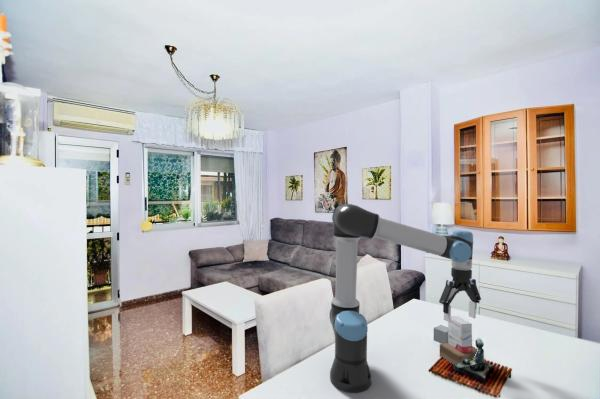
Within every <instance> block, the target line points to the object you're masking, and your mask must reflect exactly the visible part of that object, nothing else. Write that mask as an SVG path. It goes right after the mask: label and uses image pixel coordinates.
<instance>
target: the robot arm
mask: <svg viewBox="0 0 600 399" xmlns="http://www.w3.org/2000/svg"><path fill="white" fill-rule="evenodd" d="M331 220H332V223H333V228H332V229H333V231H332V232H333V238H334V239H335V240H336V257H335V258H336V259H335V289H334V290H335V292H334V297H333V298H332V299H331V303H330V304H331V305H330V309H329V321H330V324H331V327H332V331H333V335H334V345H335V346H334V358H333V360H332V361H333V362H332V364H331V365H332V366H331V368H330V370H329V380H330V382H331V384H332V385H333V386H334V387H336V388H337V389H339V390H341V391H343V392H347V393H361V392H364V391H366V390H368V389H369V388H370V387H371V386H372V373H371V370H370V366H369V363H368V328H369V327H368V321H367V319H366V317H365V316H364V315H363V314H361V313H360V307H361V306H360V301H359V299H357V275H358V274H357V273H358V243H359V240H360V239H362V238H365V239H369V240H373V239H375V238H376V239H379V240H383V241H387V242H389V243H394V244H396V245H400V246H404V247H408V248H410V249H414V250H418V251H421V252H424V253H426V254H431V255H434V256H438V257H440V258H445V259H449V260H451V269H450V270H451V271H450V275H451V277H452V280H449V279H446V281H445V286H444V289H443V290H442V293H441V296H440V298H439V301H438V303H439V304H441V305H442V311H443V320H444V321H446V322H450V320H451V316H452V315H451V314H452V306H451V303H452V301H453V300H454V299H455V297H456V295H457V294H459V293H460V292H463V291H464V292H465V293H466V295H467V297H468V298H469V300H468V317H470V318H472V319H476V313H477V312H476V311H477V306H478V305H477V304H480V301H482V297H481V295H480V292H479V290H478V287H477V279H475V278H473V276H472V275H473V271H472V268H473V255H474V254H473V253H474V252H473V251H474V250H473V249H474V235H473V233H472V232H471V231H467V230H453V231H452V234H451V235H440V234H437V233H434V232H430V231H426V230H424V229H420V228H417V227H413V226H410V225H406V224H402V223H399V222H395V221H392V220H388V219H385V218H382V217H381V216H380V215H379V213H376V212H372V211H369V210H367V209H366V208H363V207H361V206H358V205H357V204H356V205H355V204H352V203H342V204H340V205H339V206H337V207H336V208H335V209H334V211H333V212H332V216H331Z"/></svg>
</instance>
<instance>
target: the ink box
mask: <svg viewBox="0 0 600 399" xmlns="http://www.w3.org/2000/svg"><path fill="white" fill-rule="evenodd" d="M447 322H448V321H447ZM447 325H448V326H447V327H448V343H449V344H450V345H451V346H453V347H454V348H456V349H457V350H459V351H460V352H462V353H469V352H472V346H473V331H472V330H473V329H472V328H473V327H472V325H473V324H472V323H471V322H469V320H468V321H467V320H465V319H464V318H462V317H461V316H458V315H454V316H453V315H451V320H450V322H448V323H447Z"/></svg>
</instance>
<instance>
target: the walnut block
mask: <svg viewBox="0 0 600 399" xmlns="http://www.w3.org/2000/svg"><path fill="white" fill-rule="evenodd" d="M477 350H479V349H478V348H476V347H474V346H473V345H472V352H469V353H462V352H460V351H459V350H457V349H456V348H454V347H453V346H451V345H450V344H449V343H445V344H441V343H439V357H440V358H442V357H443V358H444V359H443V358H442V359H443V360H445V359H446V360H447V361H446V360H445V361H446V362H448V361H449V362H450V363H449V362H448V363H449V364H451V363H452V364H453V365H452V364H451V365H452V366H454V364H456V363H461V362H462V361H463V360H464V359H471V358H473V357H474V356H475V354H476V352H477Z"/></svg>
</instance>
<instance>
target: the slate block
mask: <svg viewBox="0 0 600 399" xmlns="http://www.w3.org/2000/svg"><path fill="white" fill-rule="evenodd" d="M433 341H434V342H437V343H439V344H445V343H448V326H446V325H443V324H439V325H437V326H435V327H433Z"/></svg>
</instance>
